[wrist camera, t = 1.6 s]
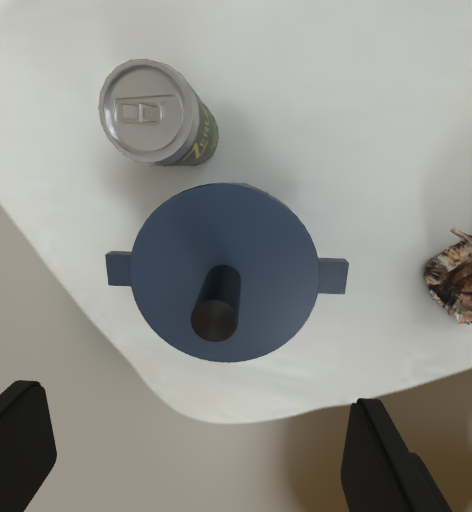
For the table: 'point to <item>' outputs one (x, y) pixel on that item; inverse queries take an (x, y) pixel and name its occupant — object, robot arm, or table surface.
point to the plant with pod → (453, 278)
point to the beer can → (156, 116)
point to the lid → (224, 272)
